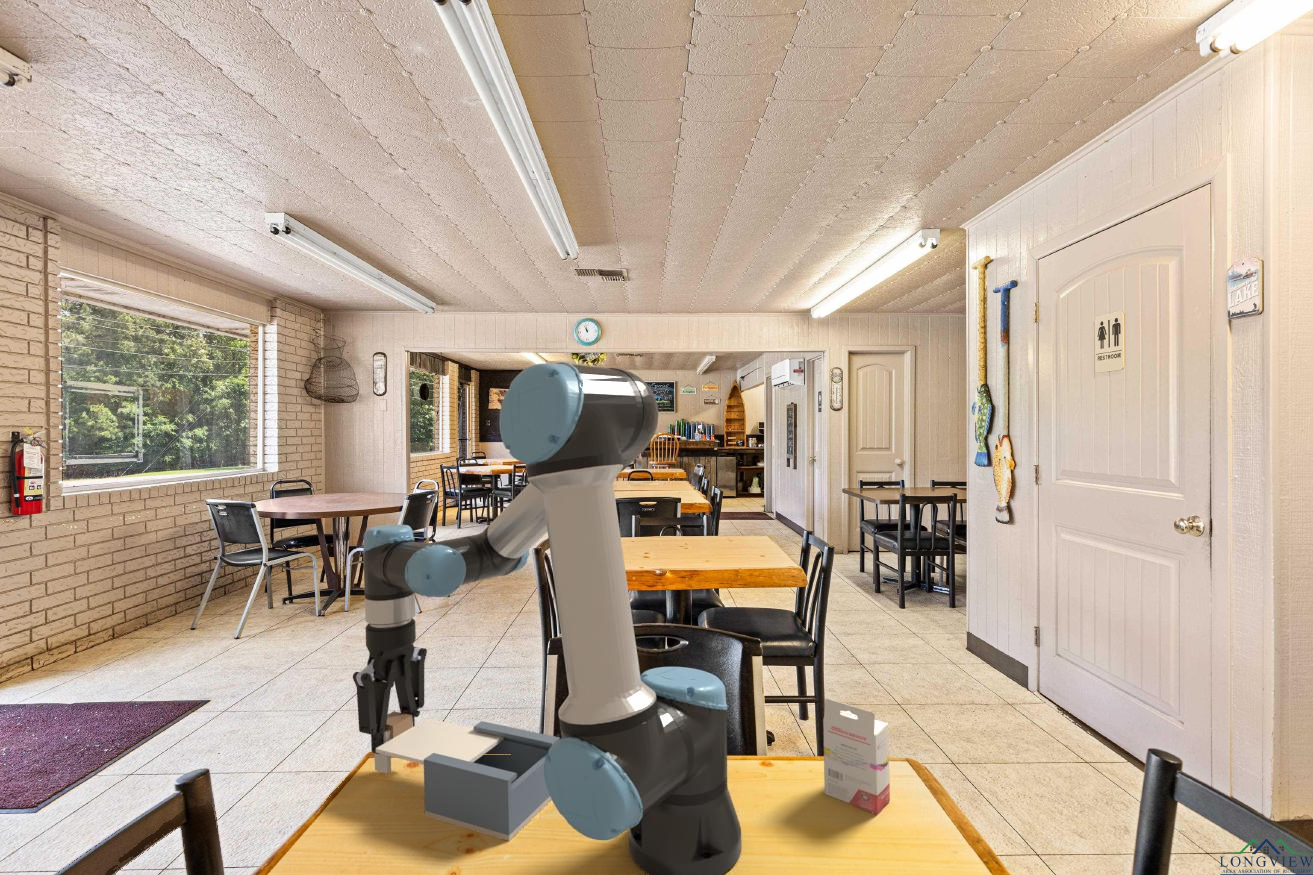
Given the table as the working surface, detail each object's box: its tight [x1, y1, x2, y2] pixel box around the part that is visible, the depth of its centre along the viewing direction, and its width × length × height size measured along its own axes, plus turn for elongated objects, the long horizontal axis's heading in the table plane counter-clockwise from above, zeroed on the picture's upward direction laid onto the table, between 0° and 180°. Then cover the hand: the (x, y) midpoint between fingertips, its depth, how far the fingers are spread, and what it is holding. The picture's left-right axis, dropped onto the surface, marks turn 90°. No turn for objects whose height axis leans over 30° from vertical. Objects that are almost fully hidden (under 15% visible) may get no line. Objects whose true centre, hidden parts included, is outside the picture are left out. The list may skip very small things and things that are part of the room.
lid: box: [376, 711, 505, 766], centre depth 101 cm, size 20×11×4 cm, turn 66°
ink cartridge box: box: [822, 697, 891, 815], centre depth 96 cm, size 9×5×15 cm, turn 47°
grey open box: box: [423, 720, 560, 842], centre depth 96 cm, size 15×13×8 cm
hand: (394, 762), depth 105 cm, fingers closed on lid, 4 cm apart
